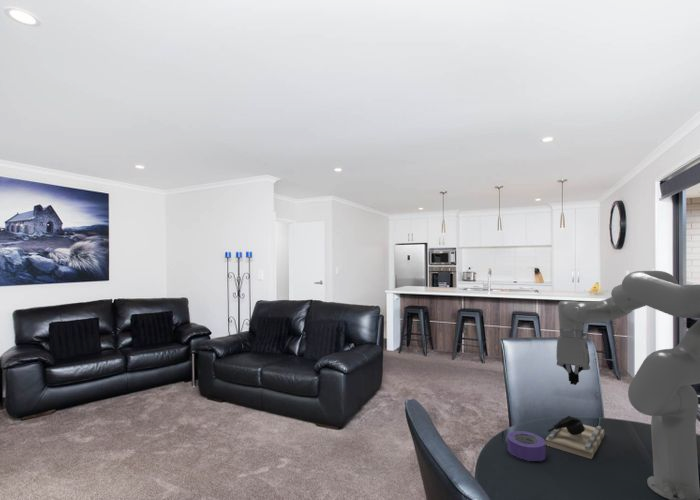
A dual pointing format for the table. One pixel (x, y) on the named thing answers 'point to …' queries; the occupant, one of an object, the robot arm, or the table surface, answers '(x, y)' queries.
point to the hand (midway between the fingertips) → (573, 383)
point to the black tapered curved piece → (570, 426)
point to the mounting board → (576, 441)
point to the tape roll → (526, 446)
